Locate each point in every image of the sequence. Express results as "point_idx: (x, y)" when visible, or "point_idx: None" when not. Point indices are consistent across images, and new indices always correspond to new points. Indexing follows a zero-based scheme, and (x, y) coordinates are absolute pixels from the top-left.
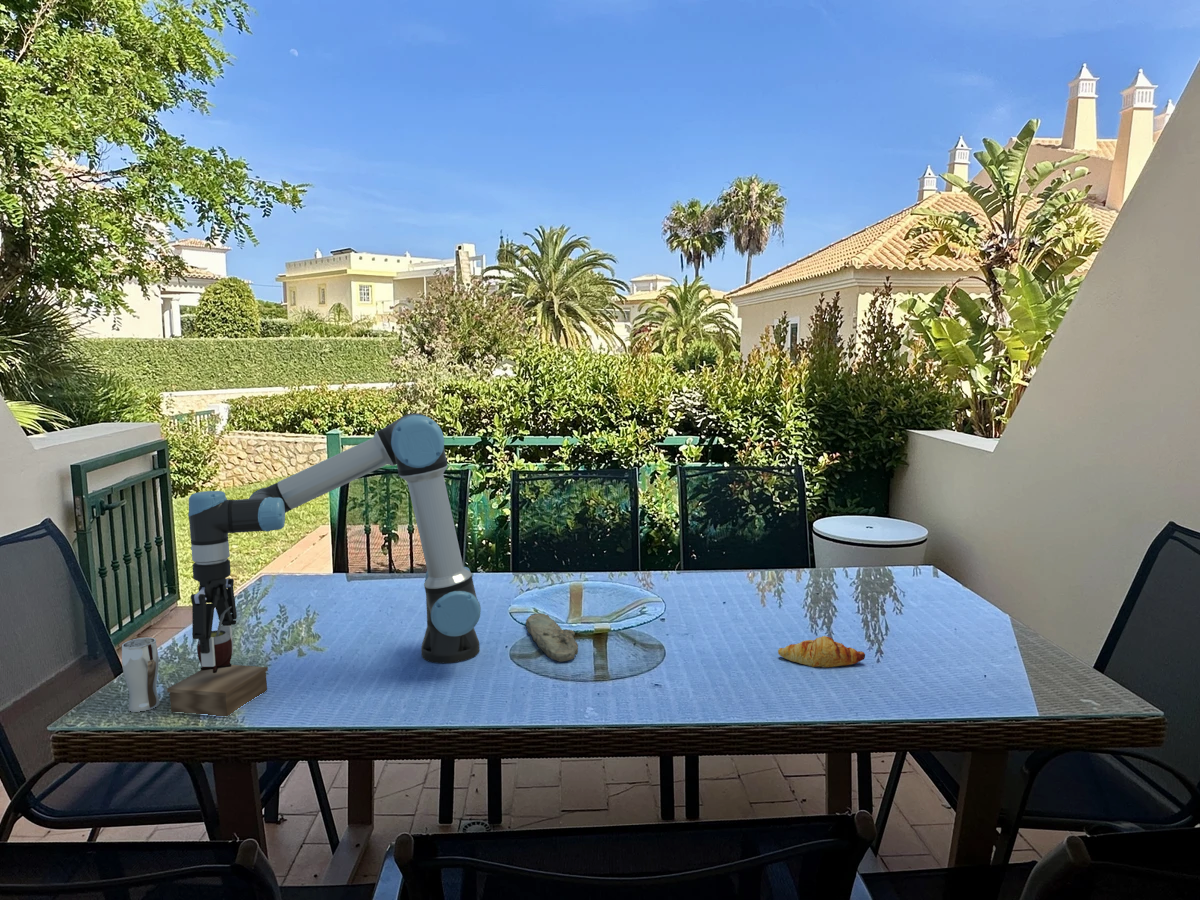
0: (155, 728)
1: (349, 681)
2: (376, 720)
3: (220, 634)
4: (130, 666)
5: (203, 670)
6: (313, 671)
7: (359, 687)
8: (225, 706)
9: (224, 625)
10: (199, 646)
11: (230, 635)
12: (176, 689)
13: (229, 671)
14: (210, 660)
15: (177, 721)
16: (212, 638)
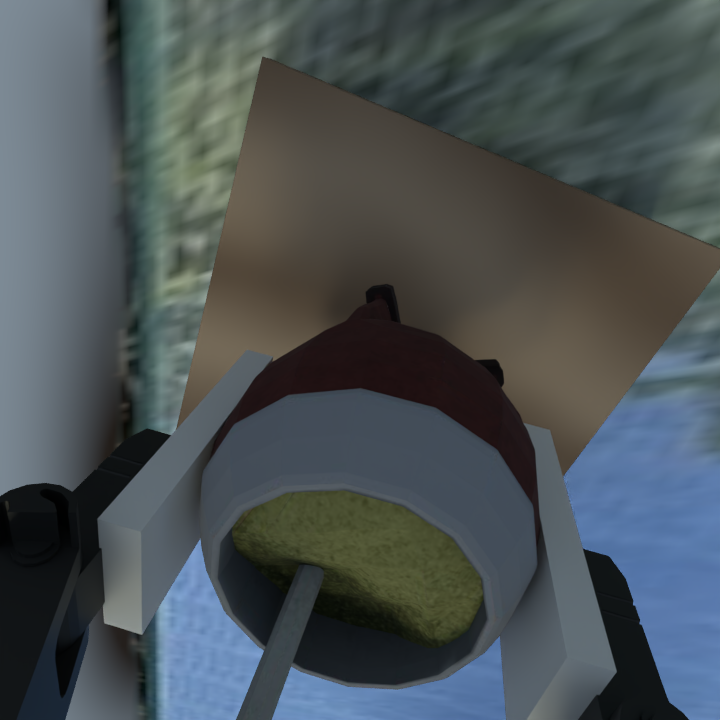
0: (138, 73)
1: (484, 695)
2: (190, 712)
3: (415, 617)
4: None
5: (580, 224)
6: (654, 614)
7: (420, 709)
8: None
9: (582, 713)
10: (237, 412)
11: (504, 637)
12: (244, 139)
13: None
14: None
15: (209, 163)
16: (123, 620)
